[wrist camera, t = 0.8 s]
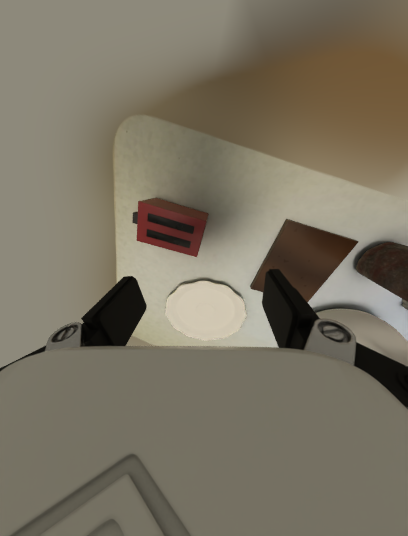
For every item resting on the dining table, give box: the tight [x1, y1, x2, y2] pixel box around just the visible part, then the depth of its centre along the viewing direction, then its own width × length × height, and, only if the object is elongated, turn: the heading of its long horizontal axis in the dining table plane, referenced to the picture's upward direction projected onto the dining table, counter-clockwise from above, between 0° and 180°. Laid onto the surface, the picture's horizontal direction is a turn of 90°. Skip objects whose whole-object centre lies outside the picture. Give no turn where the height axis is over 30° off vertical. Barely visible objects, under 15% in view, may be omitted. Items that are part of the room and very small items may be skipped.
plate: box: [165, 281, 247, 341], centre depth 39 cm, size 21×21×2 cm
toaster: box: [133, 198, 208, 257], centre depth 25 cm, size 6×11×7 cm, turn 75°
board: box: [250, 219, 358, 302], centre depth 31 cm, size 16×14×1 cm
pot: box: [316, 309, 408, 366], centre depth 33 cm, size 26×24×17 cm
